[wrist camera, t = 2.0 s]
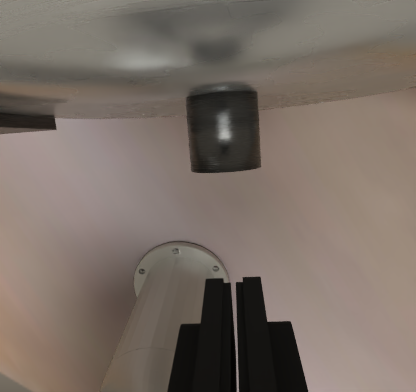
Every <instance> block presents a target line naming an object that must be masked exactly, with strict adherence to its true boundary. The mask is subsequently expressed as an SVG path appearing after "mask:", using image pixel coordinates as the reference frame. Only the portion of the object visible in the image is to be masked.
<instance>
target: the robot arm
mask: <svg viewBox="0 0 416 392" xmlns="http://www.w3.org/2000/svg"><path fill="white" fill-rule="evenodd" d="M176 248H177V249H176ZM134 290H135V294H136V297H137V300H136V303H135V305H134V307H133V310H132V312H131V315H130V317H129V320H128V322H127V324H126V327H125V329H124V332H123V334H122V336H121V339H120V341H119V344H118V346H117V349H116V351H115V353H114V356H113V358H112V361H111V363H110V366H109V368H108V370H107V373H106V375H105V378H104V380H103V383H102V386H101V389H100V392H237V384H236V350H235V336H234V323H233V309H232V295H231V283H229V278H228V274H227V271H226V269H225V267H224V265H223V264H222V262H221V261H220V260H219V259H218V258H217V257H216V256H215V255H214V254H213V253H211V252H210V251H208V250H207V249H205V248H203V247H201V246H198V245H195V244H192V243H185V242H172V243H167V244H163V245H160V246H158V247H156V248H154V249H152V250H151V251H149V252H148V253H147V254H146V255H145V256H144V257H143V258H142V260H141V261H140V263H139V264H138V267H137V269H136V271H135V275H134ZM236 300H237V335H238V370H239V392H308V389H307V385H306V380H305V376H304V372H303V368H302V364H301V360H300V356H299V352H298V348H297V344H296V340H295V336H294V332H293V328H292V324H291V322H290V321H283V322H267V317H266V311H265V304H264V297H263V291H262V284H261V278H260V277H243V282H236Z"/></svg>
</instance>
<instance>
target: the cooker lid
mask: <svg viewBox="0 0 416 392" xmlns="http://www.w3.org/2000/svg"><path fill="white" fill-rule="evenodd" d="M413 87H416V0H0V134H8V133H21V132H33V131H45V130H56V124H55V118H66V119H123V118H155V117H176V116H187V124H188V136H189V148H190V160H191V171H192V172H196V173H220V172H234V171H243V170H251V169H256V168H259V167H261V156H260V134H259V112H258V110H265V109H274V108H284V107H292V106H300V105H308V104H316V103H323V102H331V101H338V100H344V99H351V98H358V97H364V96H370V95H376V94H381V93H387V92H392V91H398V90H403V89H408V88H413Z"/></svg>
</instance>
